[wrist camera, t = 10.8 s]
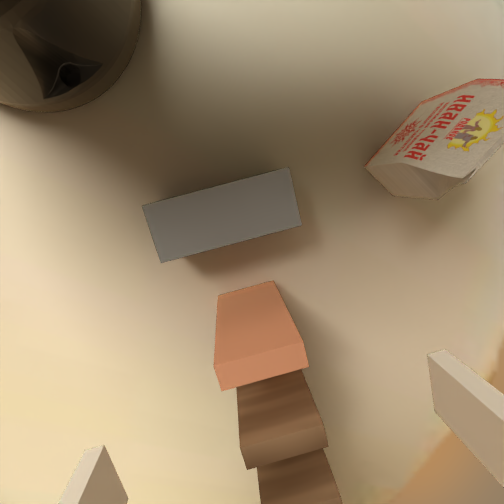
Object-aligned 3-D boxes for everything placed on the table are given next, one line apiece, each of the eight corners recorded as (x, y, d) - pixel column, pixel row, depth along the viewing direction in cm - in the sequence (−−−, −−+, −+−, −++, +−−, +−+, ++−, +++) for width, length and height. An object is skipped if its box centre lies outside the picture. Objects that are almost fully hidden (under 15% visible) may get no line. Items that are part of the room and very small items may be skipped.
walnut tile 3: (249, 400, 30) (262, 519, 20) (300, 386, 31) (340, 496, 20) (253, 414, 31) (268, 538, 20) (303, 400, 31) (345, 516, 20)
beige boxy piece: (450, 133, 27) (579, 105, 17) (393, 196, 27) (485, 203, 18) (421, 101, 26) (539, 53, 16) (363, 166, 27) (443, 157, 17)
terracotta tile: (217, 295, 28) (213, 365, 17) (273, 280, 28) (302, 341, 17) (222, 312, 28) (221, 391, 18) (277, 297, 28) (309, 366, 18)
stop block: (157, 201, 26) (141, 205, 21) (276, 169, 26) (289, 167, 21) (172, 248, 27) (160, 263, 22) (288, 217, 27) (301, 225, 22)
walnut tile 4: (234, 350, 29) (240, 448, 18) (287, 335, 29) (323, 424, 19) (238, 365, 30) (247, 469, 19) (290, 350, 30) (328, 446, 19)
